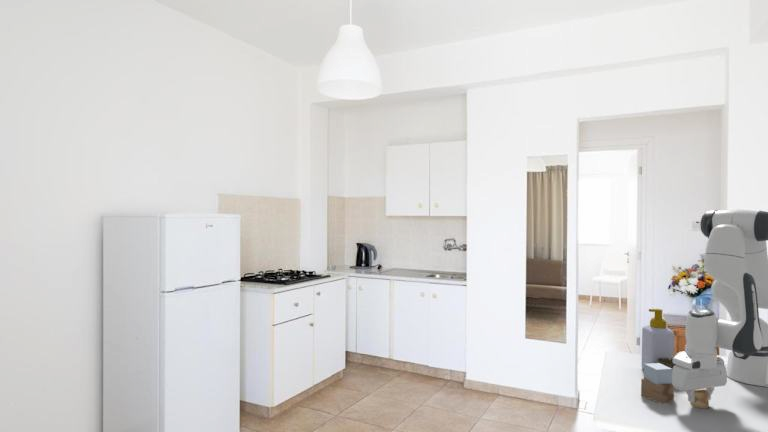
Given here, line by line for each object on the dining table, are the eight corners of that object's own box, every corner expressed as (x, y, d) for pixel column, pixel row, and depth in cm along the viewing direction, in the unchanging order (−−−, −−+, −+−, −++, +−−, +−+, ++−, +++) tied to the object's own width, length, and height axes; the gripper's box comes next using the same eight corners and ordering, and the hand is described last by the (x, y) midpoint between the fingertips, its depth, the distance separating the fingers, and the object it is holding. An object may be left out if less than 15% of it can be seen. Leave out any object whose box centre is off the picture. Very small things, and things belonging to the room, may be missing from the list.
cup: (684, 385, 171) (684, 364, 171) (662, 383, 173) (662, 362, 173) (675, 378, 179) (676, 357, 178) (654, 376, 180) (655, 356, 180)
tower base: (653, 392, 164) (654, 375, 164) (673, 400, 158) (674, 382, 158) (641, 395, 161) (641, 378, 161) (660, 403, 155) (661, 385, 155)
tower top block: (658, 377, 163) (659, 362, 163) (672, 383, 157) (672, 368, 157) (643, 377, 162) (643, 363, 162) (656, 384, 156) (656, 369, 156)
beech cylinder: (697, 401, 157) (698, 387, 157) (712, 407, 152) (712, 392, 152) (686, 403, 155) (687, 388, 155) (700, 409, 150) (701, 394, 150)
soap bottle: (639, 367, 190) (641, 306, 190) (662, 368, 190) (663, 307, 189) (651, 375, 181) (653, 311, 181) (675, 376, 181) (676, 312, 180)
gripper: (714, 353, 159) (713, 393, 160) (668, 358, 153) (667, 400, 154) (733, 359, 153) (732, 401, 154) (686, 364, 147) (685, 408, 148)
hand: (699, 400), depth 154 cm, fingers closed on beech cylinder, 5 cm apart
